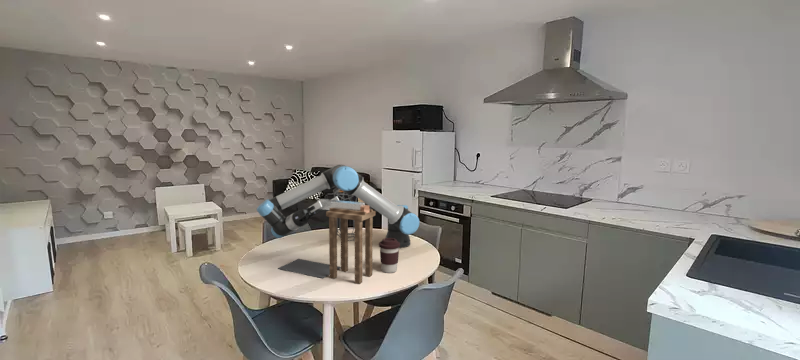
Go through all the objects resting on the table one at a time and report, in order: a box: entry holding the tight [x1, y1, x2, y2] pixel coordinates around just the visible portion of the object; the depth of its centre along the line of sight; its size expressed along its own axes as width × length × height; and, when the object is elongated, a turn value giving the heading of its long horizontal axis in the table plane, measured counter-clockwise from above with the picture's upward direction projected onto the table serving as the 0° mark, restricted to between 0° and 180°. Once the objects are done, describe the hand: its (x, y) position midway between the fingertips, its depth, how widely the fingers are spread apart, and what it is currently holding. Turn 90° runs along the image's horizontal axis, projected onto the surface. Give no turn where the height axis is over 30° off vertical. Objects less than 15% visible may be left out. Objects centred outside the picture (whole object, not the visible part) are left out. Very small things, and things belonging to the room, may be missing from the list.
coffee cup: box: [378, 237, 400, 274], centre depth 177 cm, size 10×10×15 cm
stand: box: [325, 204, 377, 285], centre depth 167 cm, size 18×12×33 cm, turn 66°
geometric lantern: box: [332, 187, 359, 242], centre depth 226 cm, size 16×16×35 cm
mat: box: [277, 258, 341, 279], centre depth 179 cm, size 26×15×1 cm, turn 66°
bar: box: [316, 198, 366, 211], centre depth 167 cm, size 22×4×4 cm, turn 68°
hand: (329, 201), depth 170 cm, fingers open, 13 cm apart
